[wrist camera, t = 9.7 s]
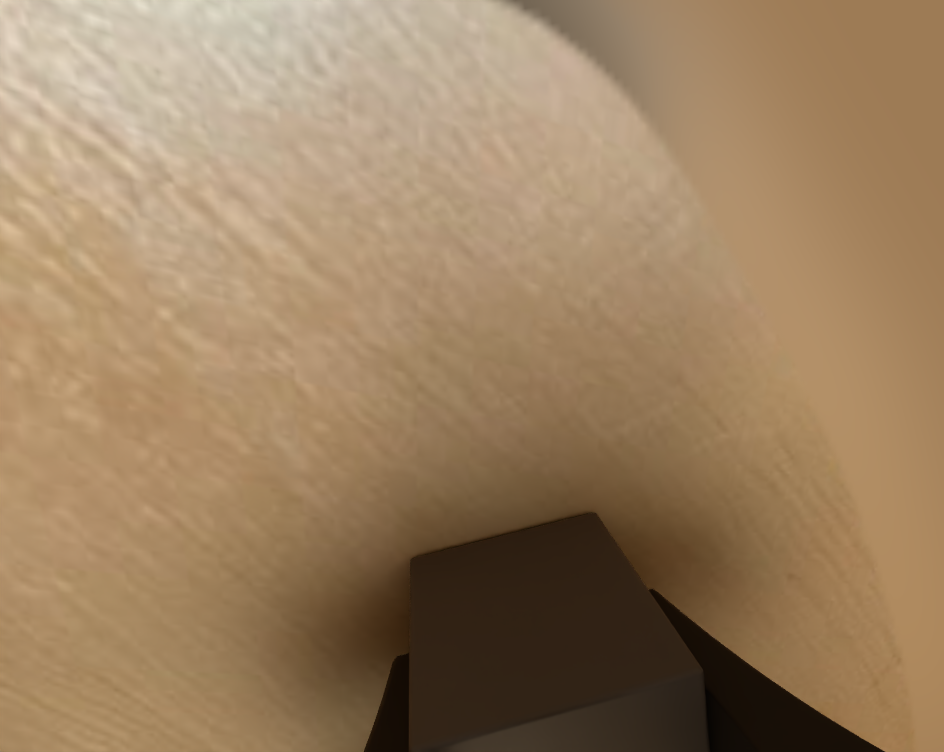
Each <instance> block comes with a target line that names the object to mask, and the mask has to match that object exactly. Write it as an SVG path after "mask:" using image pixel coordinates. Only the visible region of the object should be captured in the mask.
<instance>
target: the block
mask: <svg viewBox="0 0 944 752" xmlns="http://www.w3.org/2000/svg"><path fill="white" fill-rule="evenodd" d="M409 752H710V741H709V729H708V718H707V707H706V695H705V684H704V673H703V669H702V668H701V666H700V665H699V663H698V662H697V660H696V659H695V657H694V656H693V654H692V653H691V652H690V650H689V649H688V647H687V646H686V644H685V643H684V641H683V640H682V638H681V637H680V635H679V634H678V633H677V631H676V630H675V628H674V627H673V625H672V624H671V622H670V621H669V619H668V618H667V616H666V615H665V614H664V612H663V611H662V609H661V608H660V606H659V605H658V603H657V602H656V600H655V599H654V597H653V596H652V595H651V593H650V592H649V590H648V589H647V587H646V586H645V584H644V583H643V581H642V580H641V578H640V577H639V575H638V574H637V573H636V571H635V570H634V568H633V567H632V565H631V564H630V562H629V561H628V559H627V558H626V556H625V555H624V554H623V552H622V551H621V549H620V548H619V546H618V545H617V543H616V542H615V540H614V539H613V537H612V536H611V535H610V533H609V532H608V530H607V529H606V527H605V526H604V524H603V523H602V521H601V520H600V518H599V517H598V516H597V514H596V513H589V514H585V515H581V516H577V517H573V518H569V519H565V520H561V521H557V522H553V523H550V524H546V525H542V526H538V527H534V528H530V529H526V530H522V531H518V532H514V533H510V534H506V535H502V536H498V537H494V538H490V539H486V540H482V541H478V542H474V543H470V544H467V545H463V546H459V547H455V548H451V549H447V550H443V551H439V552H435V553H431V554H427V555H423V556H419V557H415V558H412V559H411V560H410V627H409Z"/></svg>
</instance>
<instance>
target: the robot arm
mask: <svg viewBox="0 0 944 752" xmlns="http://www.w3.org/2000/svg"><path fill="white" fill-rule="evenodd" d="M649 592H650V593H651V595H652V596H653V597H654V599H655V600H656V602H657V603H658V605H659V606H660V608H661V609H662V611H663V612H664V614H665V615H666V616H667V618H668V619H669V621H670V622H671V624H672V625H673V627H674V628H675V630H676V631H677V633H678V634H679V635H680V637H681V638H682V640H683V641H684V643H685V644H686V646H687V647H688V649H689V650H690V652H691V653H692V654H693V656H694V657H695V659H696V660H697V662H698V663H699V665H700V666H701V668H702V669H703V673H704V684H705V695H706V707H707V718H708V729H709V741H710V752H885V751H883V750H881V749H879V748H878V747H876V746H874V745H872V744H871V743H869V742H867V741H865V740H864V739H862V738H860V737H859V736H857V735H855V734H854V733H852V732H850V731H849V730H847V729H845V728H844V727H842V726H840V725H839V724H837V723H835V722H834V721H832V720H831V719H829V718H827V717H826V716H824V715H823V714H821V713H820V712H818V711H816V710H815V709H813V708H812V707H810V706H809V705H807V704H806V703H804V702H803V701H801V700H800V699H798V698H797V697H795V696H794V695H792V694H791V693H789V692H788V691H786V690H785V689H783V688H782V687H780V686H779V685H777V684H776V683H775V682H773V681H772V680H770V679H769V678H767V677H766V676H765V675H763V674H762V673H760V672H759V671H758V670H756V669H755V668H753V667H752V666H751V665H749V664H748V663H747V662H745V661H744V660H743V659H741V658H740V657H739V656H737V655H736V654H734V653H733V652H732V651H730V650H729V649H728V648H726V647H725V646H724V645H722V644H721V643H720V642H719V641H717V640H716V639H715V638H713V637H712V636H711V635H709V634H708V633H707V632H706V631H704V630H703V629H702V628H701V627H699V626H698V625H697V624H696V623H694V622H693V621H692V620H691V619H689V618H688V617H687V616H686V615H685V614H683V613H682V612H681V611H680V610H679V609H677V608H676V607H675V606H674V605H672V604H671V603H670V602H669V601H668V600H667V599H665V598H664V597H663V596H662V595H661V594H659V593H658V592H657V591H655V590H654V589H649ZM364 752H409V653H407V654H404V655H400V656H397V657H396V658H395V659H394V661H393V663H392V667H391V670H390V674H389V678H388V681H387V684H386V688H385V691H384V694H383V698H382V701H381V704H380V707H379V710H378V713H377V716H376V719H375V722H374V725H373V728H372V730H371V733H370V736H369V739H368V741H367V744H366V747H365V749H364Z"/></svg>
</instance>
